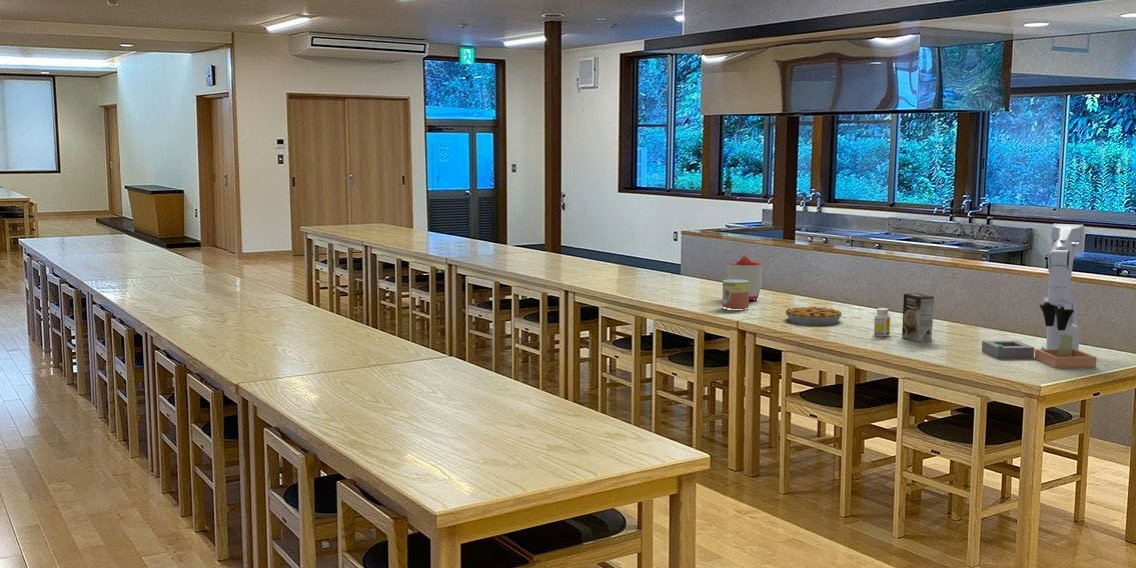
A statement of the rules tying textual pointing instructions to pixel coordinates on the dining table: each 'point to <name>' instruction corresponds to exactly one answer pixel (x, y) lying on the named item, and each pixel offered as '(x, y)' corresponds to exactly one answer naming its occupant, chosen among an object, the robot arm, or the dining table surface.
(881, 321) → the supplement bottle
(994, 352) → the frame
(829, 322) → the pie
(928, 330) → the coffee box
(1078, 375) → the dining table surface
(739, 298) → the canned food
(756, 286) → the citrus juicer
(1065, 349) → the olive cell
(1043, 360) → the tray
